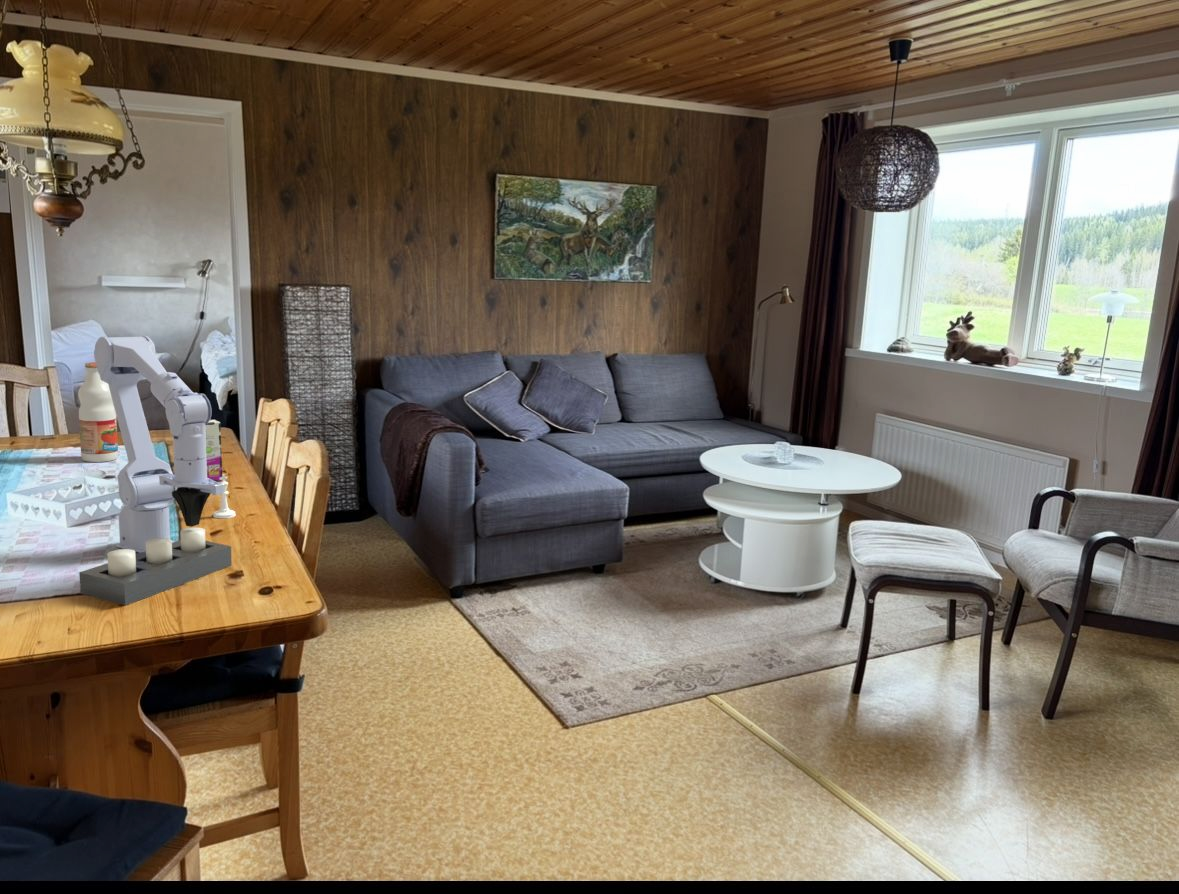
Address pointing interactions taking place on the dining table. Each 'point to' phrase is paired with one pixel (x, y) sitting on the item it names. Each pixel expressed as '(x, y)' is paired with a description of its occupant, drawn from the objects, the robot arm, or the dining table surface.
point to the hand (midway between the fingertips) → (192, 525)
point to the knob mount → (154, 574)
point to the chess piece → (224, 503)
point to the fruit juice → (97, 419)
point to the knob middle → (158, 550)
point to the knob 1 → (121, 563)
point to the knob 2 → (192, 539)
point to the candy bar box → (213, 450)
